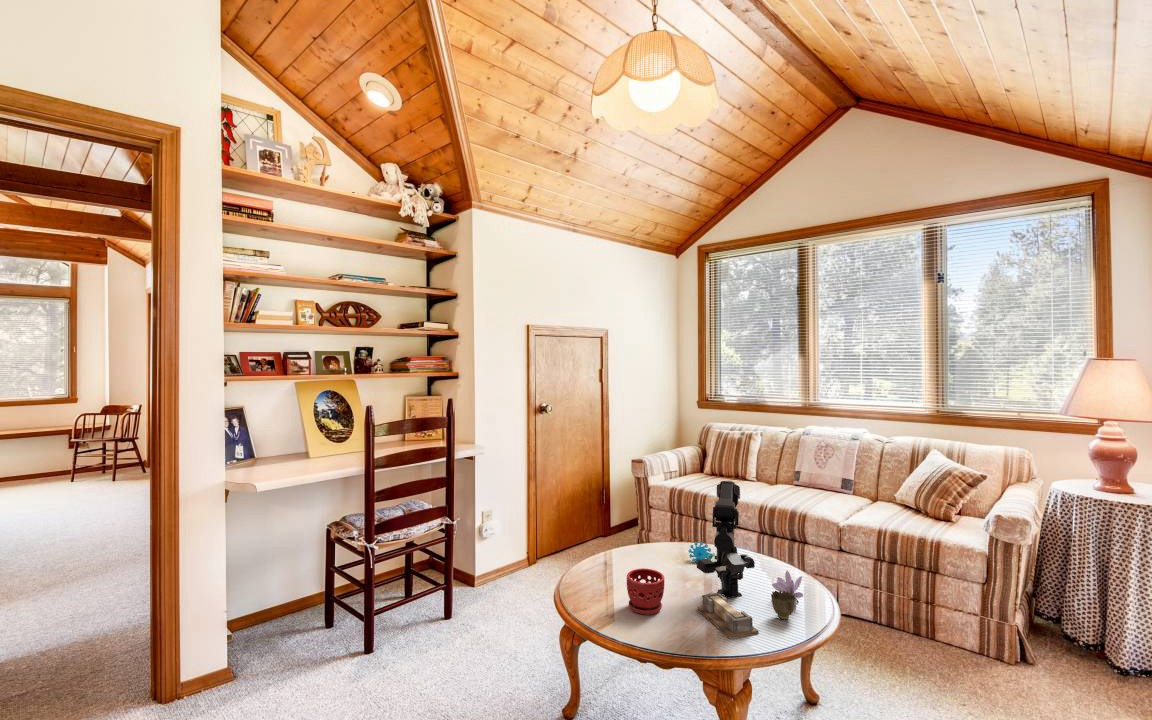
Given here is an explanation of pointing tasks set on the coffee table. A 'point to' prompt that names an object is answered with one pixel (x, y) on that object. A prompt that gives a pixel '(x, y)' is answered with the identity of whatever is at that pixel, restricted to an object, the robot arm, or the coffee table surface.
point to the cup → (783, 604)
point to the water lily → (789, 587)
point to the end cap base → (727, 619)
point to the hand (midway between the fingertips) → (725, 589)
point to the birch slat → (724, 608)
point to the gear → (700, 552)
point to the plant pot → (645, 591)
